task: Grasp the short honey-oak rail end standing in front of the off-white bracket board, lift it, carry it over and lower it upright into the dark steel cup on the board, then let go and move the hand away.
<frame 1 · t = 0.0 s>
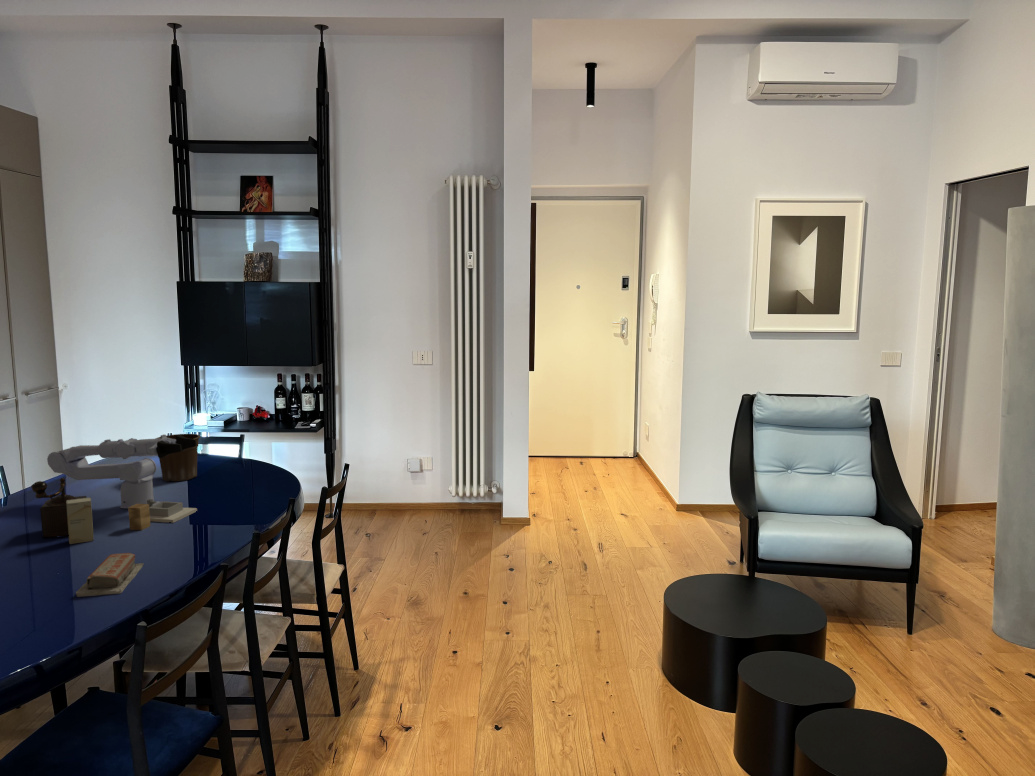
hand: (188, 445, 234), 22 cm above the table, tool horizontal, fingers open, 7 cm apart
plant pot: (179, 478, 277), on the table
skincare box: (81, 541, 207), on the table
packaged product: (111, 583, 179), on the table
manual coffee grinder: (63, 534, 213), on the table
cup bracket: (166, 515, 230), on the table
rail end: (140, 527, 218), on the table
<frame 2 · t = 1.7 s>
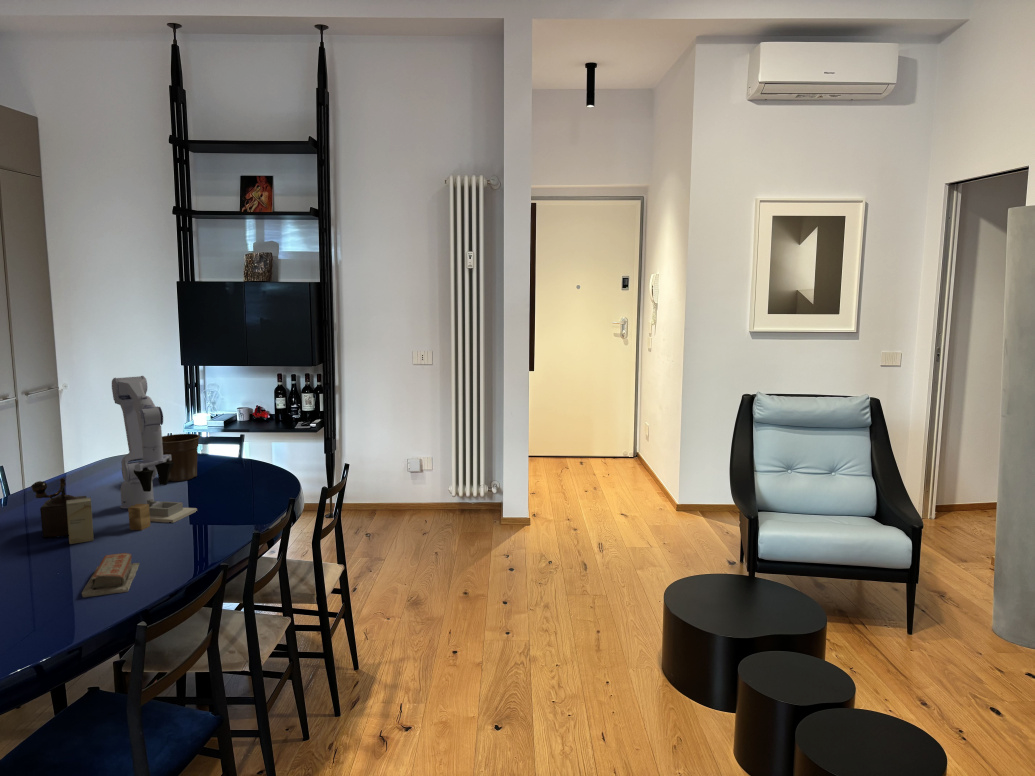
hand: (155, 487, 225), 10 cm above the table, tool pointing down, fingers open, 7 cm apart
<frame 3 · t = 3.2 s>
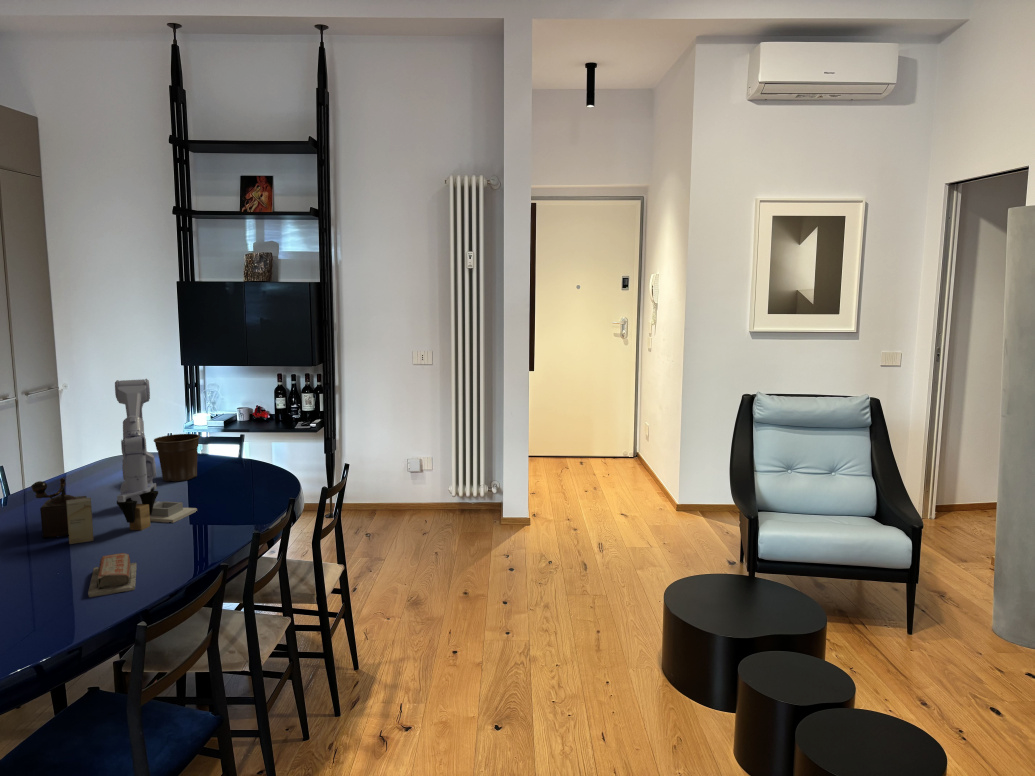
hand: (139, 518, 218), 3 cm above the table, tool pointing down, fingers open, 7 cm apart
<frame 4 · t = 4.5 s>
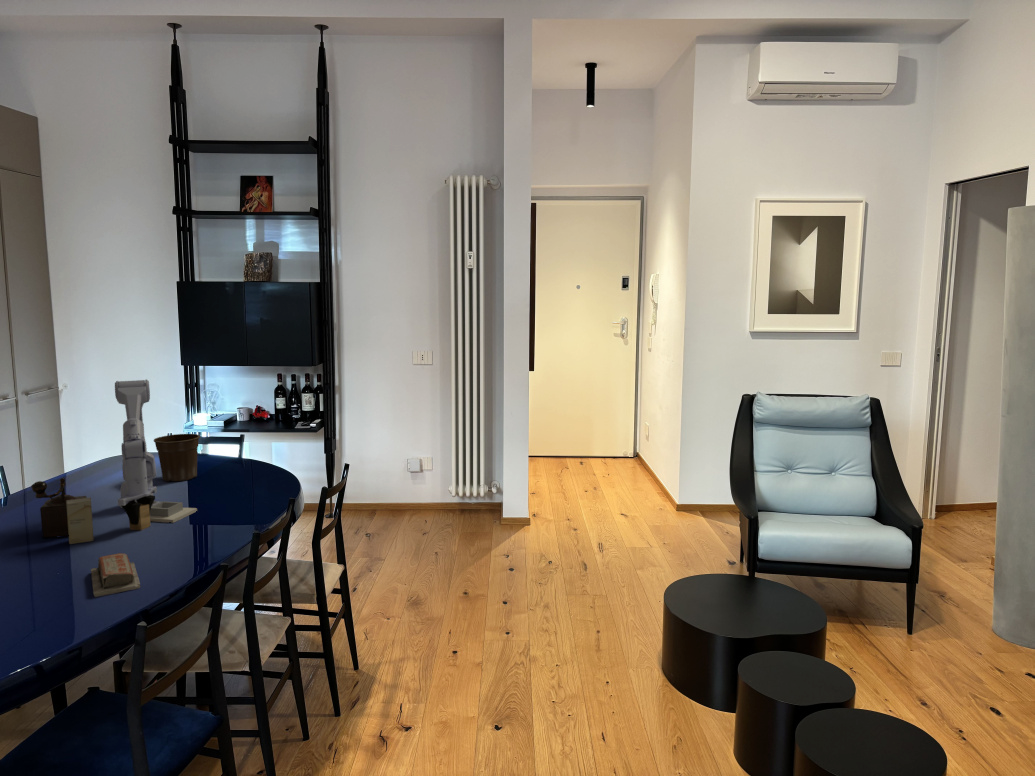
hand: (139, 521, 218), 2 cm above the table, tool pointing down, fingers closed on rail end, 4 cm apart
rail end: (140, 527, 218), on the table, touching gripper
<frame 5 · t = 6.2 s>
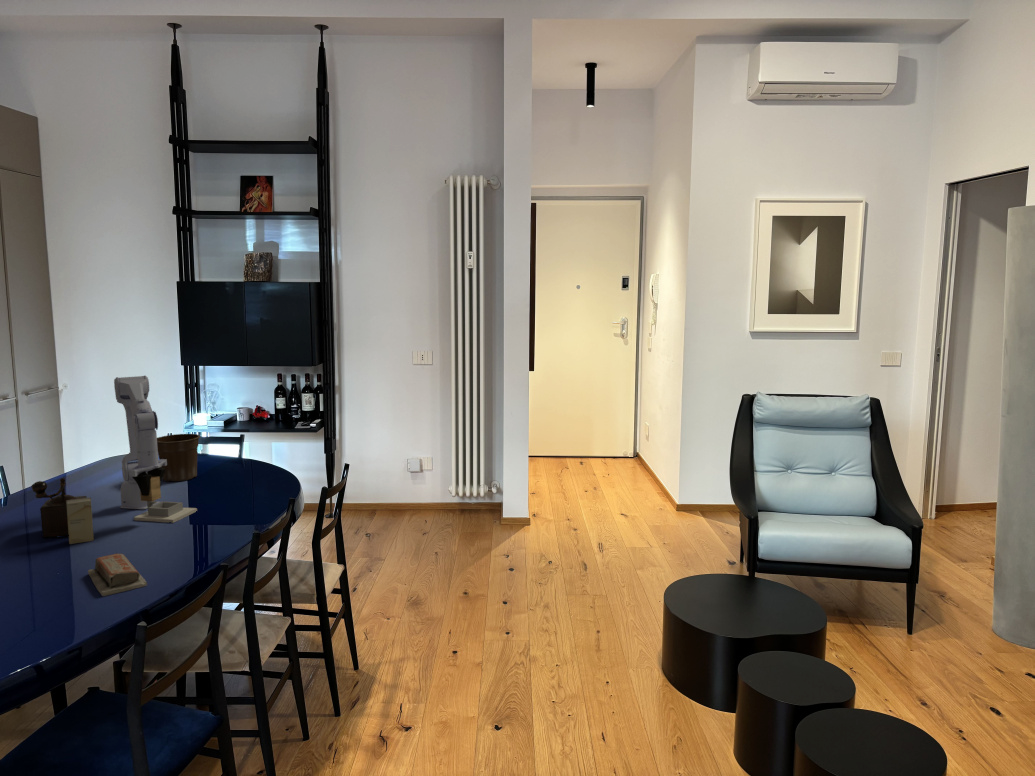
hand: (150, 493, 223), 9 cm above the table, tool pointing down, fingers closed on rail end, 4 cm apart
rail end: (151, 499, 223), point 7 cm above the table, touching gripper
when the fingers open (5 cm above the table, at t = 8.4 s): rail end drops 2 cm, resting on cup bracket.
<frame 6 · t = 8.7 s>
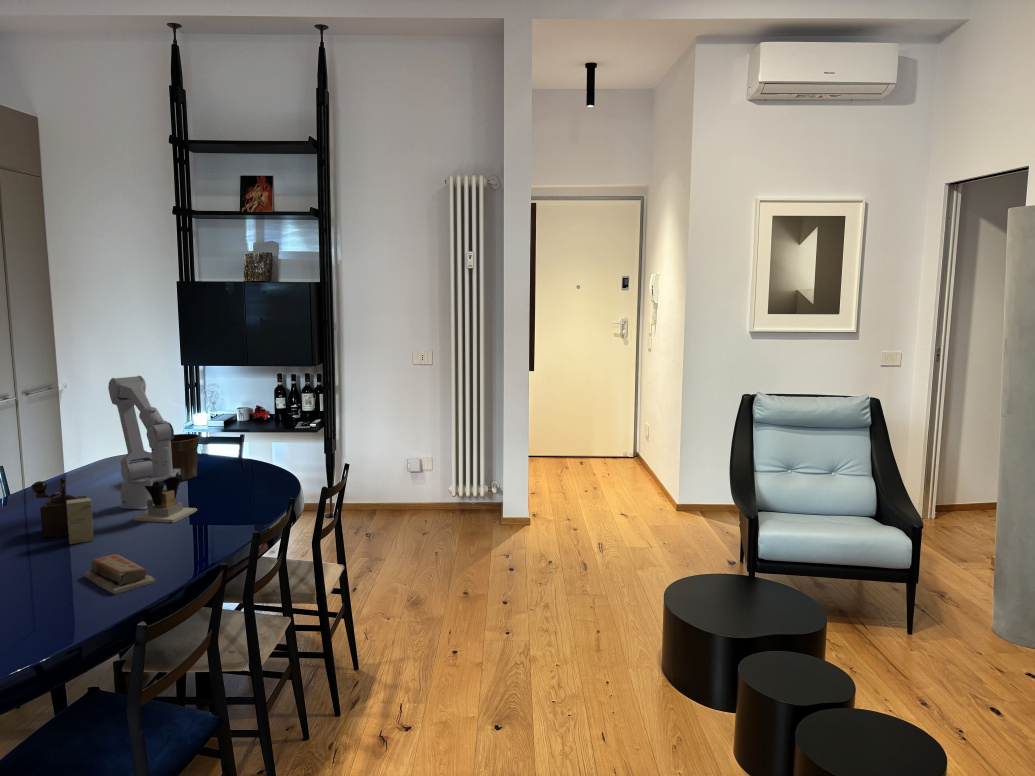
hand: (165, 501, 229), 5 cm above the table, tool pointing down, fingers open, 6 cm apart
rail end: (166, 512, 230), point 1 cm above the table, touching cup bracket
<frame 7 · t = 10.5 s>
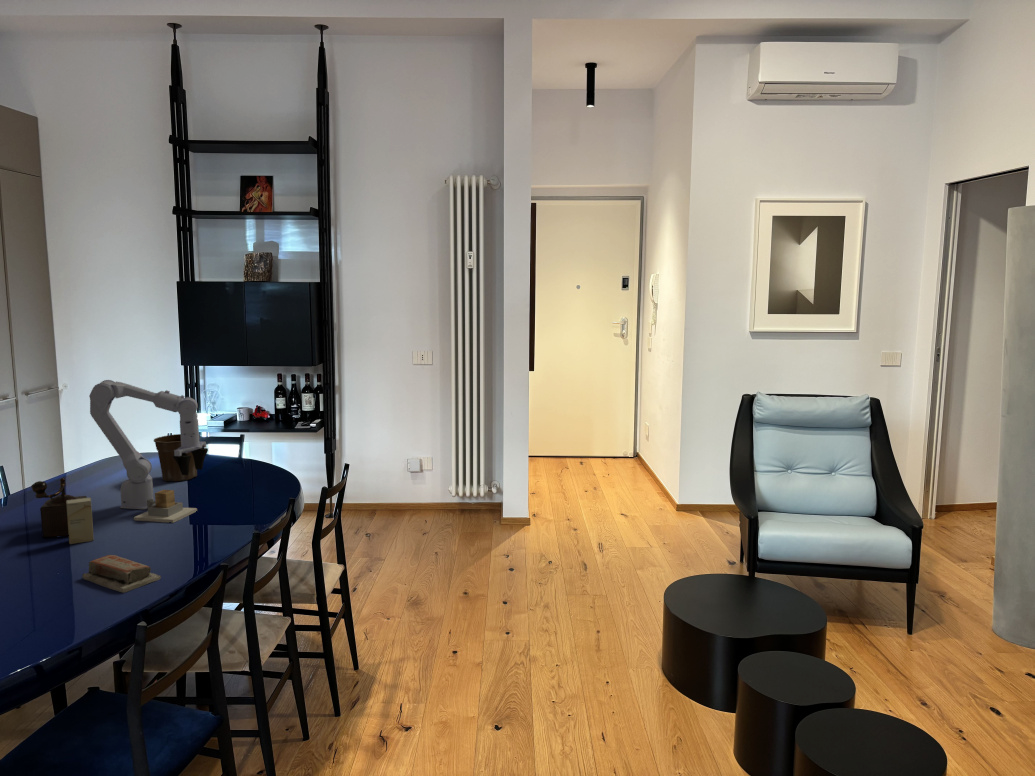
hand: (192, 472, 244), 10 cm above the table, tool pointing down, fingers open, 7 cm apart
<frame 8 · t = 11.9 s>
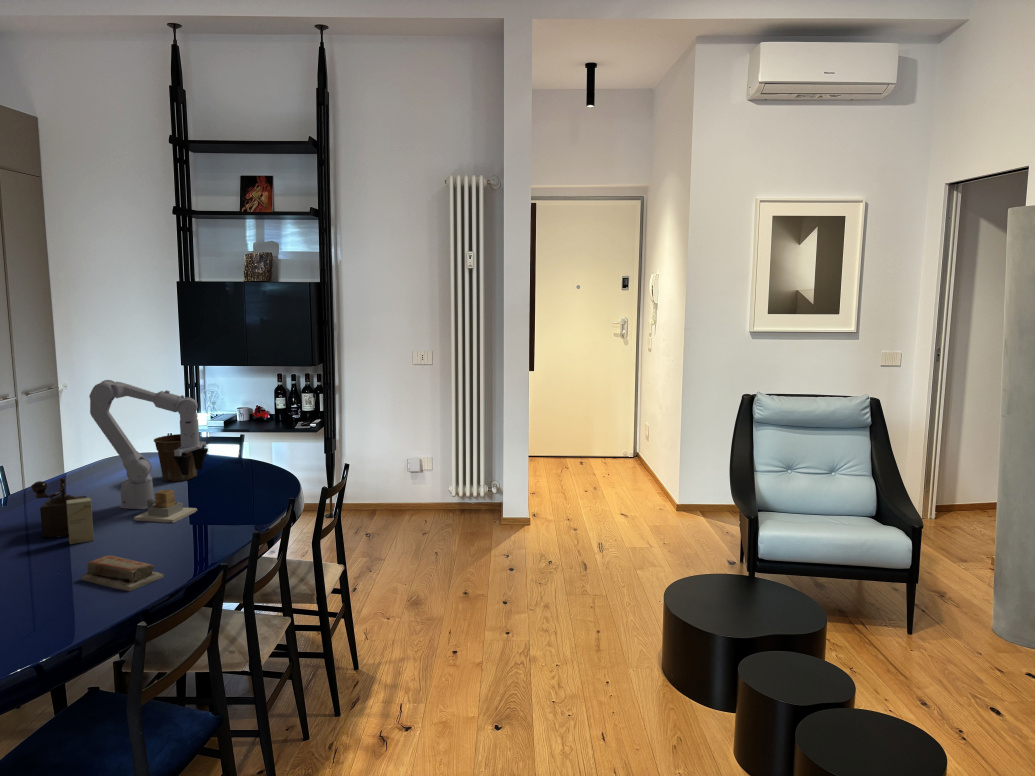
hand: (192, 472, 244), 10 cm above the table, tool pointing down, fingers open, 7 cm apart
at the end: rail end 0.0 cm off-centre on the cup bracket, point 1.0 cm above the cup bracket's base; rail end tilted 0°; the gripper is holding nothing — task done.
